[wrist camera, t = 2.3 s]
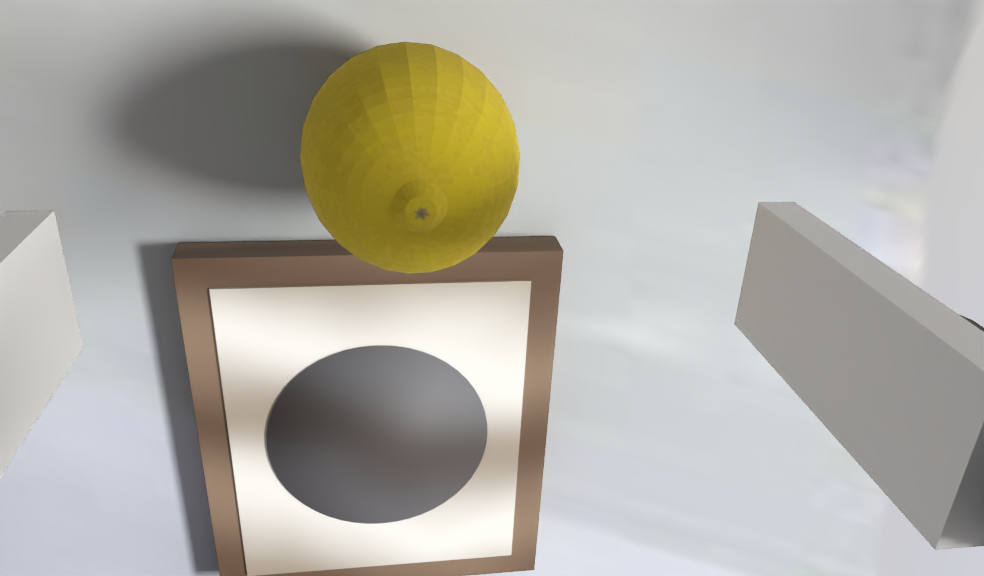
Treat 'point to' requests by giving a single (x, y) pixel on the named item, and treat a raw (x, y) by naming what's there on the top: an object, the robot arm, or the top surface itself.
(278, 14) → the top surface
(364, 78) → the lemon
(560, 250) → the board
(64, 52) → the top surface
